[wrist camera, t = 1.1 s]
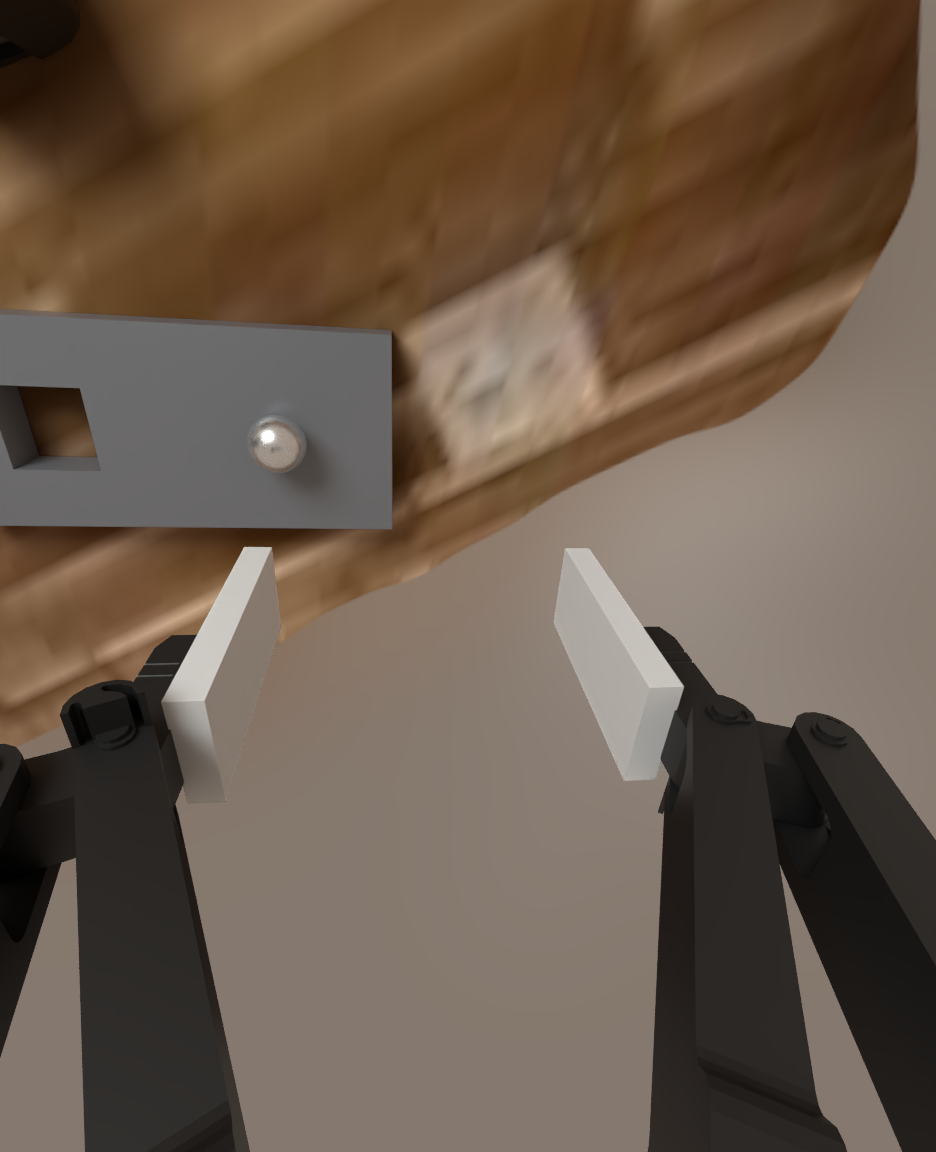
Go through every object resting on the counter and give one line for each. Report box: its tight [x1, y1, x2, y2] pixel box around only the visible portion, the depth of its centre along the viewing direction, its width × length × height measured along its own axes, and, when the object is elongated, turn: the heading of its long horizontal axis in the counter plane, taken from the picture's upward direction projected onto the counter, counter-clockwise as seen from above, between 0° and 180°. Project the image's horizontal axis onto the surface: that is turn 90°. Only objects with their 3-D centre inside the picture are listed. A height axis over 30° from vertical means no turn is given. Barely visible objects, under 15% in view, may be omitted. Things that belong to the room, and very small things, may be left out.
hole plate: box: [0, 309, 392, 529], centre depth 31 cm, size 24×11×2 cm, turn 86°
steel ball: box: [247, 415, 307, 473], centre depth 30 cm, size 3×3×3 cm
